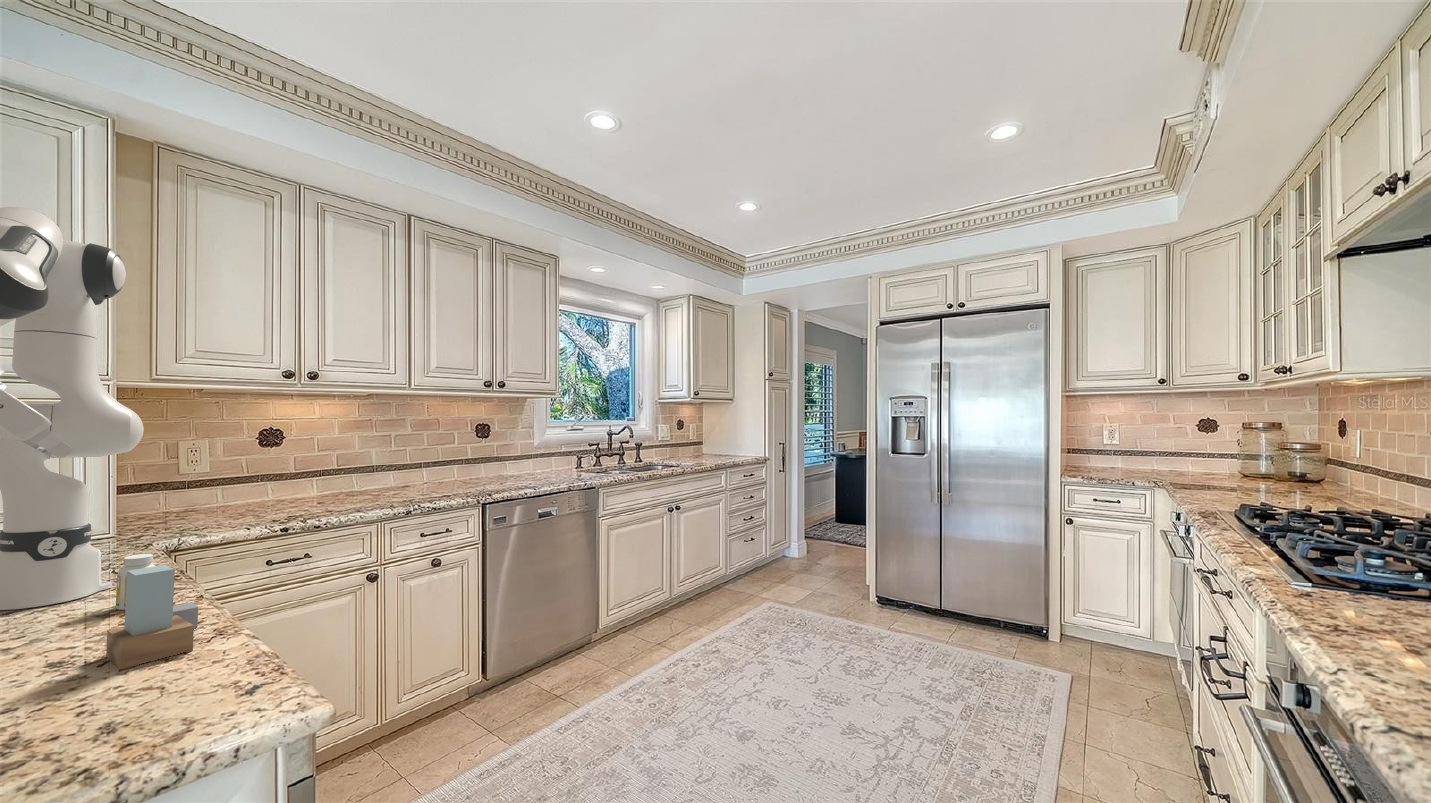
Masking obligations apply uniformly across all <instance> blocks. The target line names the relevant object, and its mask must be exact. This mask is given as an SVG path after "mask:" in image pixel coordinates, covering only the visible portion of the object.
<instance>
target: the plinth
mask: <svg viewBox="0 0 1431 803" xmlns="http://www.w3.org/2000/svg"><path fill="white" fill-rule="evenodd" d="M124 627H125V625H124V626H122V627H121V626H120V627H117V628H116V627H115V628H110V629H107V633H106V652H105V654H106V655H105V657H106V658H107V659H108V660H109V661H110V662H112V664H113V665H115V666H116V667H117V668H118V669H119V670H124V669H127V668H132V667H134V666H135V667H136V666H139V664H140V665H143V664H142V663H144V664H146V662H148V661H151V662H154V661H159V660H162V659H161V658H163V659H166V658H165V657H167V658H170V657H169V656H171V657H174V656H173V655H175V656H178V655H177V654H179V655H181V654H180V653H182V654H184V653H183V652H186V653H190V652H193V651H194V632H195V630H194V625H193V624H191V623H189V622H188V621H186V620H184V619H183V618H181V617H179V616H178V615H176V616H173V620H172V627H169V628H165V629H161V630H156V631H152V632H147V633H143V634H138V635H134V636H132V635H131V634H130V633H128V632H127V631H126V630H124ZM158 659H159V660H158ZM148 663H149V662H148Z"/></svg>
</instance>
